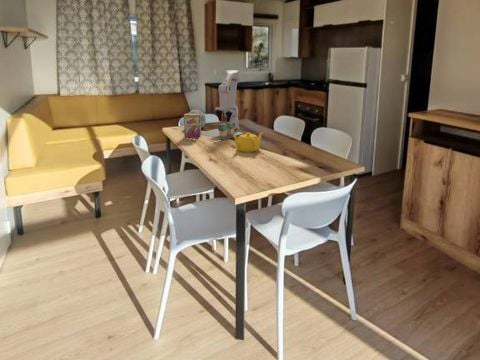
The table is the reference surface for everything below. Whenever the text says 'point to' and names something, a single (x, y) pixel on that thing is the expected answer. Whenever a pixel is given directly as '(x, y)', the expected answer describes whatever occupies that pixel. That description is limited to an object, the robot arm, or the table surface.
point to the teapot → (248, 142)
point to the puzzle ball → (201, 116)
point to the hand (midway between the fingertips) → (224, 121)
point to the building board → (216, 134)
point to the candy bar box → (192, 125)
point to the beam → (226, 126)
